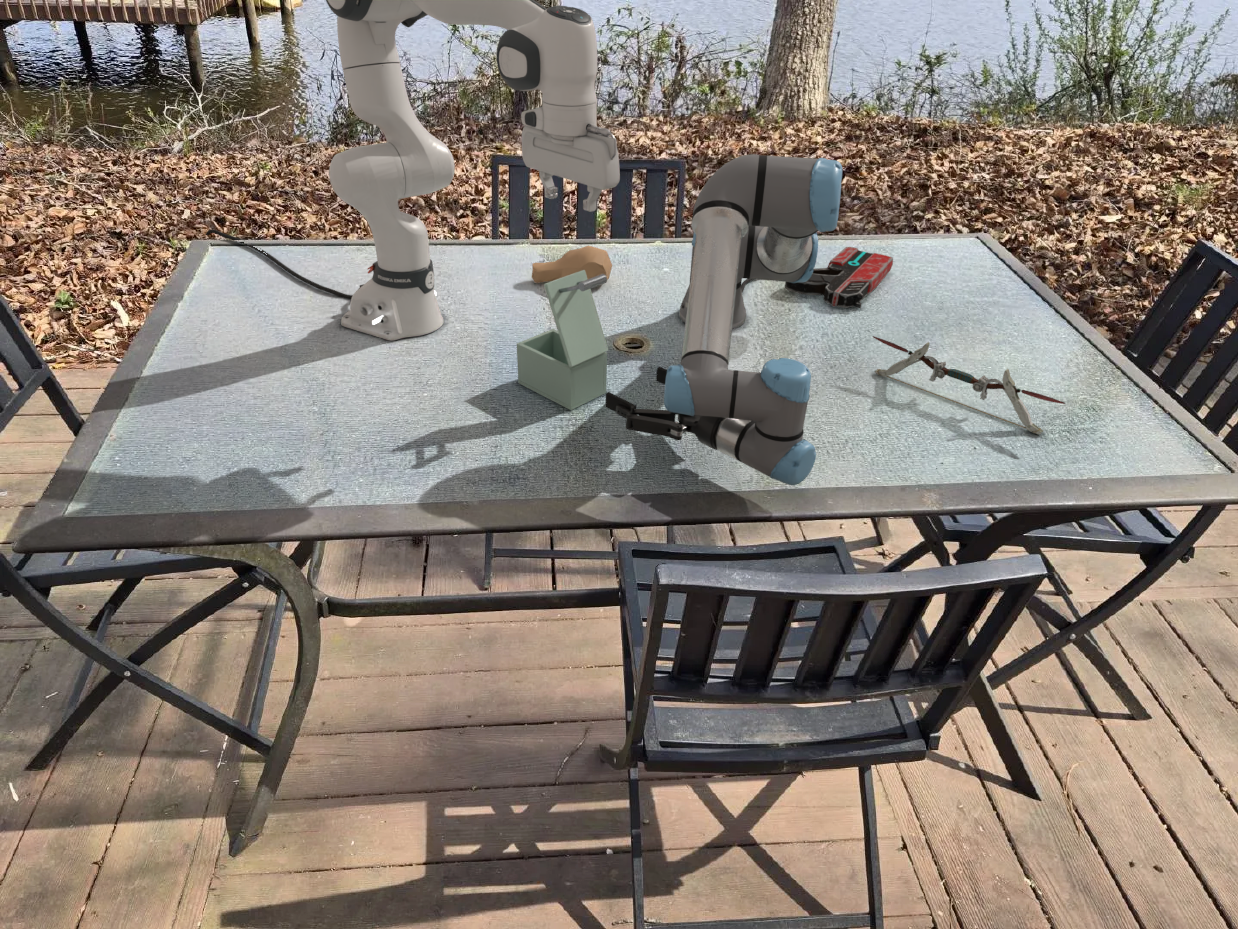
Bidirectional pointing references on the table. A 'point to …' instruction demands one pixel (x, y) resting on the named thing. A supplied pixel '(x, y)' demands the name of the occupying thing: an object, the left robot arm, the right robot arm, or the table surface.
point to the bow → (978, 385)
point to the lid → (577, 316)
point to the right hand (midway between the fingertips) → (633, 386)
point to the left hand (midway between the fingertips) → (570, 203)
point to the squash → (574, 265)
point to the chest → (559, 371)
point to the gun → (846, 278)
